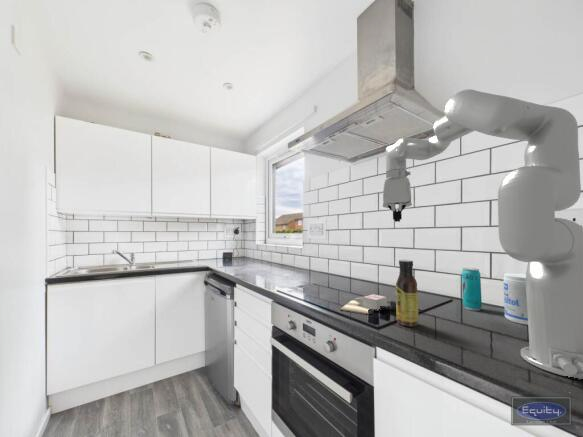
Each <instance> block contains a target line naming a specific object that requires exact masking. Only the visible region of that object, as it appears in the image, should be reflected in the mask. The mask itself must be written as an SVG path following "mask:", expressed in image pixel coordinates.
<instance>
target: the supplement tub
mask: <svg viewBox="0 0 583 437" xmlns="http://www.w3.org/2000/svg"><path fill="white" fill-rule="evenodd" d="M503 302H504V303H503V304H504V317H505V318H506V319H507V320H508V321H510V322H513V323H516V324H520V325H525V326H528V313H527V296H526V273H517V272H516V273H513V272H510V273H509V272H508V273H507V272H505V273H504V275H503Z"/></svg>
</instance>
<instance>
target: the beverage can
mask: <svg viewBox="0 0 583 437" xmlns="http://www.w3.org/2000/svg"><path fill="white" fill-rule="evenodd" d="M481 283H482V280H481V272H480V268H475V267H462V270H461V289H462V305H463V307H464V309H466V310H469V311H472V312H473V311H475V312H477V311H481V308H482V306H483V304H482V301H483V300H482V288H481V287H482V284H481Z"/></svg>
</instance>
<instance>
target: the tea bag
mask: <svg viewBox="0 0 583 437" xmlns="http://www.w3.org/2000/svg"><path fill="white" fill-rule="evenodd" d="M354 301H357V302H358V303H359V304H360V305H361V306H363V307H366V308H369V309H377V310H376V311H380V310H381V309H380V306H387V307H388V297H387V296H383V295H378V294H374V293H373V294H368V295H364V296H361V297H357V298H354ZM379 309H380V310H379Z"/></svg>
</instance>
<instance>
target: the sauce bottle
mask: <svg viewBox="0 0 583 437" xmlns="http://www.w3.org/2000/svg"><path fill="white" fill-rule="evenodd" d="M398 264H399V265H398V266H399V273H398V274H399V275H398V277H397V280H396V283H395V301H396V302H395V305H396V307H395V308H396V322H397V323H398V324H399V325H400V326H404V327H410V328H411V327H412V328H415V327H417V326H418V324H419V296H418V295H419V294H418V293H419V292H418V282H417V279H416V278H415V277H414V272H413V267H414V261H413V260H412V259H398Z"/></svg>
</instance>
